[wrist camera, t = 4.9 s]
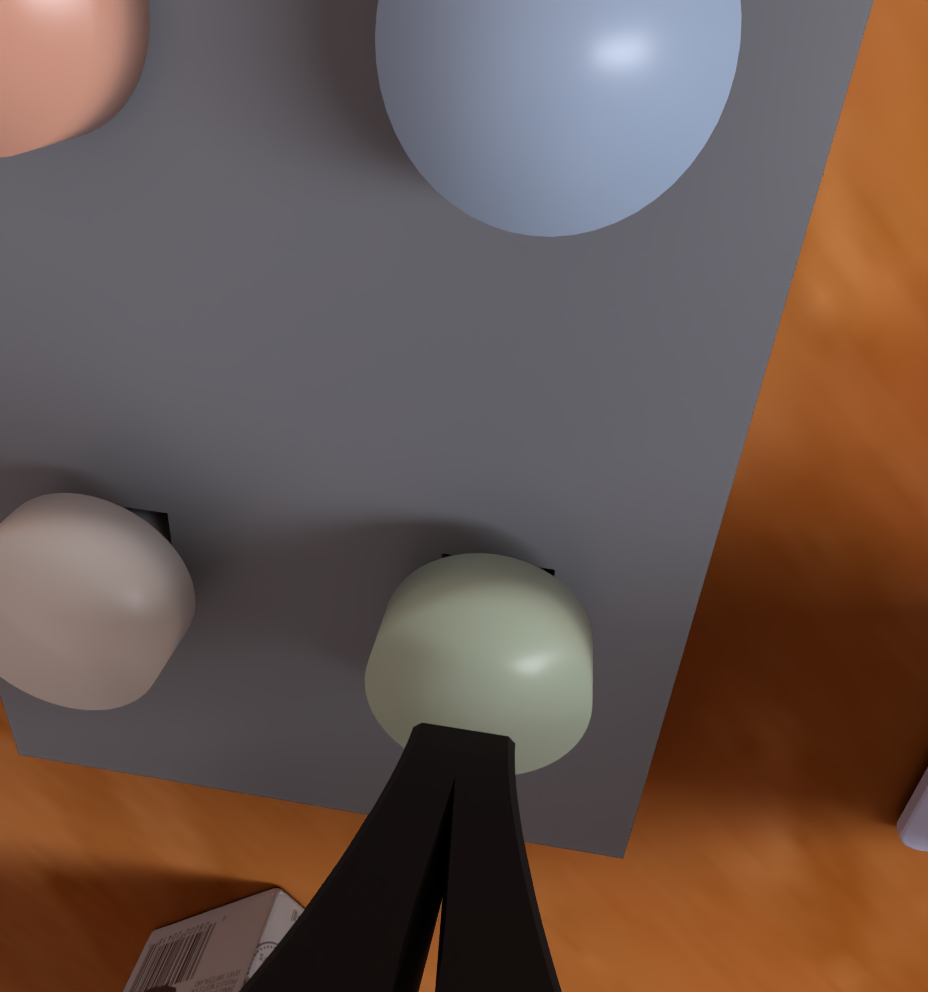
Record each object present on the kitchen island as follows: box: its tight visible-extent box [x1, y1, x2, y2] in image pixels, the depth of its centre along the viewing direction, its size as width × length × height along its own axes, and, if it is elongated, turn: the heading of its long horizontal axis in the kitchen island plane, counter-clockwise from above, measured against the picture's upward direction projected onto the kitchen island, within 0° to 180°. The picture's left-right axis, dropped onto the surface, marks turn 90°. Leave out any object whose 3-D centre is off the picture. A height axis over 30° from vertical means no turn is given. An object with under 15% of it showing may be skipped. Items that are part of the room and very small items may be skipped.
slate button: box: [375, 0, 742, 237], centre depth 10 cm, size 4×4×4 cm
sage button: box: [365, 553, 593, 775], centre depth 15 cm, size 4×4×4 cm
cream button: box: [0, 493, 196, 710], centre depth 15 cm, size 4×4×4 cm
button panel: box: [0, 0, 873, 859], centre depth 14 cm, size 14×22×2 cm, turn 176°
